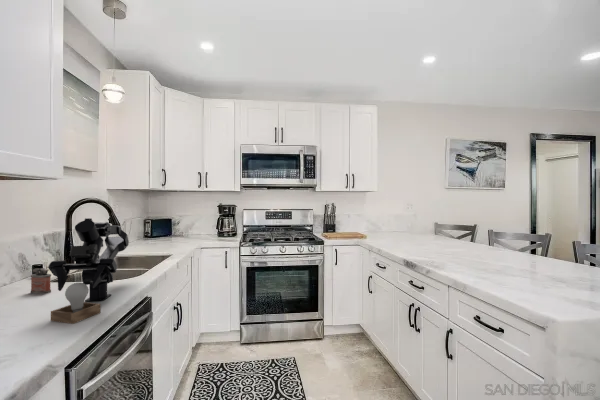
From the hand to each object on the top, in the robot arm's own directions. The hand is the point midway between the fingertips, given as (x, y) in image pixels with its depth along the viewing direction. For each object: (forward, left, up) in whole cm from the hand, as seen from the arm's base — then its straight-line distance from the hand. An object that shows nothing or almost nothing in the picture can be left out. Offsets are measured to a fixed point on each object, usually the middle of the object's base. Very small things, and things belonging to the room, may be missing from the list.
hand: (76, 289), depth 94 cm
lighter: (-31, -30, -9) cm, 44 cm away
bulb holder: (0, 0, -9) cm, 9 cm away
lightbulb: (-1, 0, -9) cm, 9 cm away
